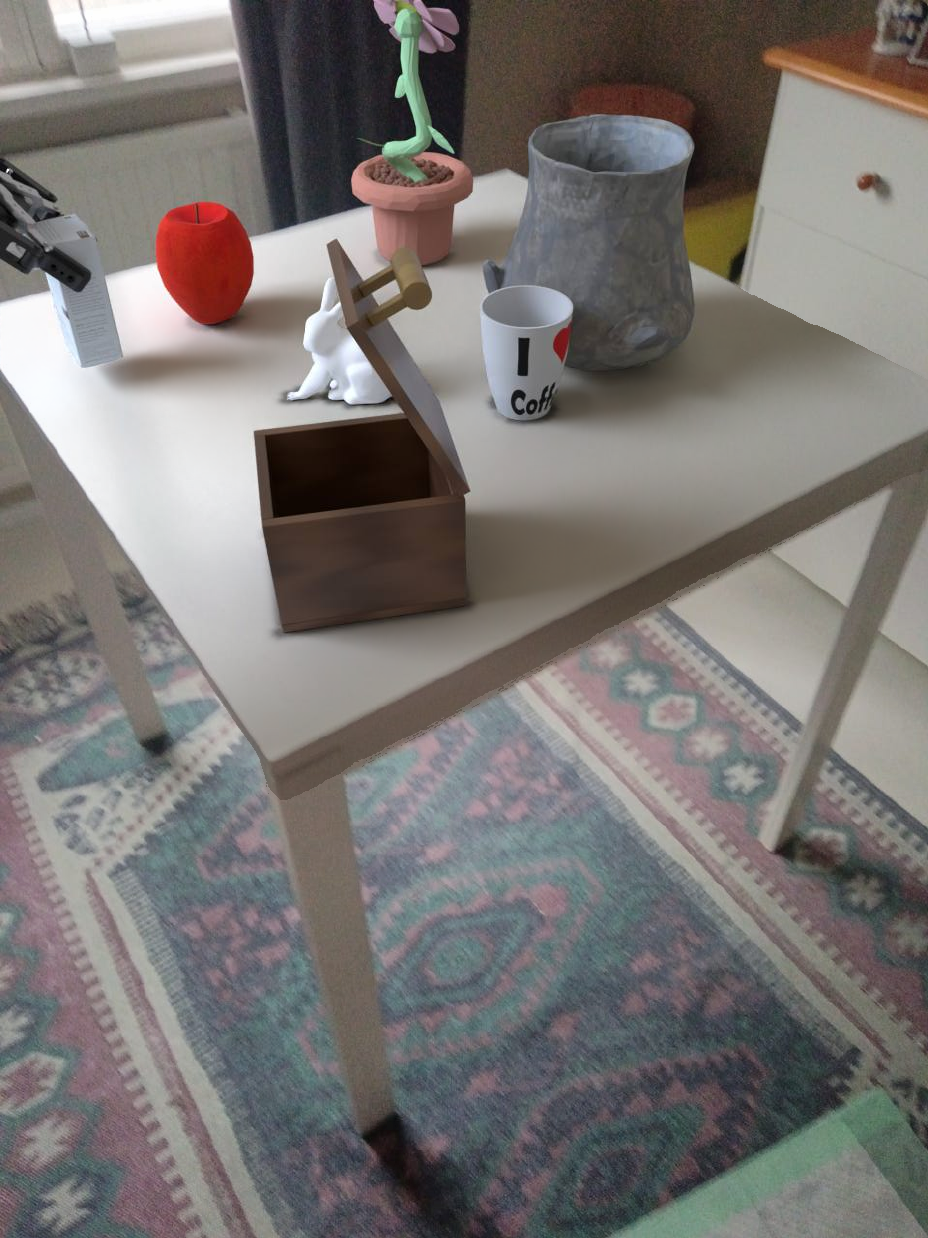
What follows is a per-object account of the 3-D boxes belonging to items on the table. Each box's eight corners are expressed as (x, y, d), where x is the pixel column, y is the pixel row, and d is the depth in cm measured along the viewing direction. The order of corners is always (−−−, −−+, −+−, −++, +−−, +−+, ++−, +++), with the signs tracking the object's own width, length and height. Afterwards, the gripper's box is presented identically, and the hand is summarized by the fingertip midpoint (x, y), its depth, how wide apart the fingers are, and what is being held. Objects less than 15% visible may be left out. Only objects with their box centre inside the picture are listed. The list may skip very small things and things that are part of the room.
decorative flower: (504, 252, 116) (510, -48, 96) (425, 293, 109) (412, -23, 88) (413, 220, 124) (400, -67, 103) (333, 256, 116) (301, -45, 95)
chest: (282, 633, 71) (261, 526, 64) (272, 533, 79) (253, 430, 72) (467, 605, 73) (465, 499, 66) (438, 511, 81) (435, 408, 74)
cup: (506, 438, 88) (508, 336, 81) (465, 396, 94) (463, 297, 87) (582, 415, 91) (591, 314, 84) (538, 375, 96) (542, 277, 89)
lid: (346, 327, 56) (422, 282, 55) (325, 244, 64) (391, 203, 63) (460, 497, 66) (526, 461, 65) (430, 405, 74) (488, 372, 73)
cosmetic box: (64, 345, 97) (25, 221, 88) (108, 333, 98) (75, 211, 90) (82, 371, 93) (44, 245, 85) (128, 358, 95) (95, 233, 86)
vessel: (538, 423, 90) (549, 203, 76) (461, 316, 105) (458, 116, 91) (747, 381, 95) (793, 167, 81) (644, 285, 110) (668, 90, 96)
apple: (231, 348, 101) (208, 230, 92) (150, 331, 103) (121, 215, 95) (279, 305, 107) (262, 192, 99) (202, 291, 110) (179, 179, 102)
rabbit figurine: (284, 400, 93) (269, 305, 87) (308, 361, 99) (295, 268, 92) (406, 412, 92) (401, 315, 85) (424, 371, 97) (420, 277, 90)
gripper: (-92, 131, 74) (107, 268, 84) (-59, 77, 84) (116, 205, 94) (-138, 208, 77) (61, 332, 86) (-99, 147, 87) (74, 264, 97)
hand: (89, 265), depth 90 cm, fingers closed on cosmetic box, 7 cm apart
